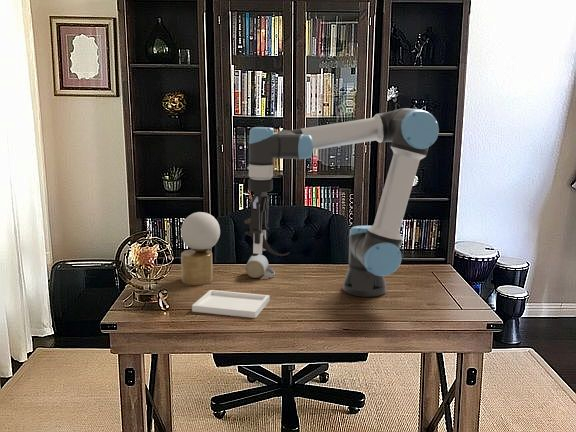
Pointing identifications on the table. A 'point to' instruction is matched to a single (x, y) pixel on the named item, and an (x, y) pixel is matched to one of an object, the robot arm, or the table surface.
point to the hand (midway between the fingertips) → (259, 251)
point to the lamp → (198, 248)
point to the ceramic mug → (258, 267)
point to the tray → (231, 303)
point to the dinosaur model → (264, 242)
